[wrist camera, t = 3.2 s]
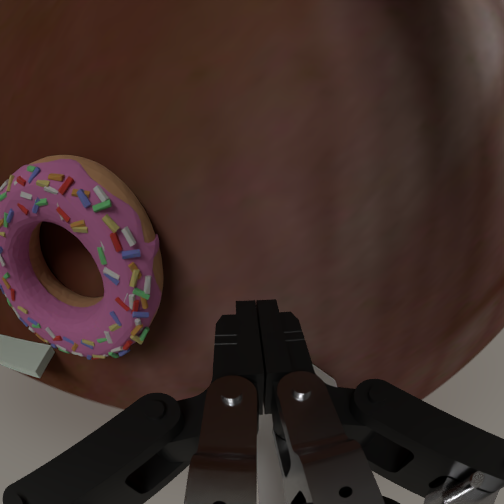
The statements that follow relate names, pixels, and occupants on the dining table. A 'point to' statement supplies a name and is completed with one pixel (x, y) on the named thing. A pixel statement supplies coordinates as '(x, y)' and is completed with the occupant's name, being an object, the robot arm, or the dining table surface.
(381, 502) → the robot arm
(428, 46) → the dining table surface
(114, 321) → the donut
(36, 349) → the box
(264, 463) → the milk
